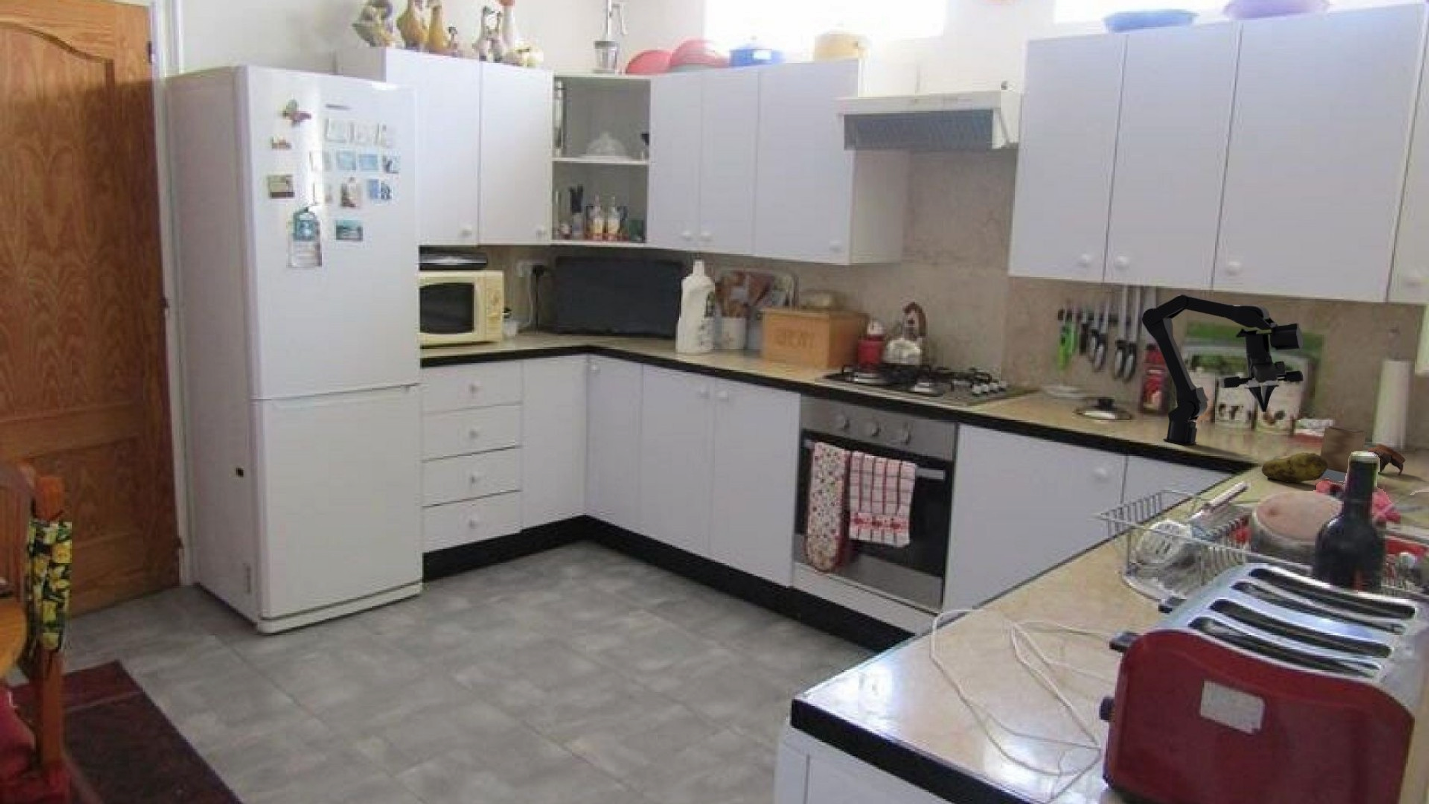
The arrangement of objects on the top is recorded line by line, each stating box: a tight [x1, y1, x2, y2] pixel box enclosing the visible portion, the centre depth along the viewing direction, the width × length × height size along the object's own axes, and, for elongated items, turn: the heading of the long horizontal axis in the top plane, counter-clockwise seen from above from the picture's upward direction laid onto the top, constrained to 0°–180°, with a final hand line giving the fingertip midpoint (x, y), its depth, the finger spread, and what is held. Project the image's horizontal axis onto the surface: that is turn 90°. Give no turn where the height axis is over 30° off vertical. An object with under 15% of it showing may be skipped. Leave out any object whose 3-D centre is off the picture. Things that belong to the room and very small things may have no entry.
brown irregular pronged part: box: [1366, 443, 1406, 476], centre depth 263 cm, size 12×10×8 cm
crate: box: [1319, 424, 1367, 473], centre depth 252 cm, size 7×6×12 cm
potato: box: [1261, 452, 1328, 483], centre depth 244 cm, size 8×13×8 cm, turn 32°
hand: (1264, 412), depth 270 cm, fingers closed
